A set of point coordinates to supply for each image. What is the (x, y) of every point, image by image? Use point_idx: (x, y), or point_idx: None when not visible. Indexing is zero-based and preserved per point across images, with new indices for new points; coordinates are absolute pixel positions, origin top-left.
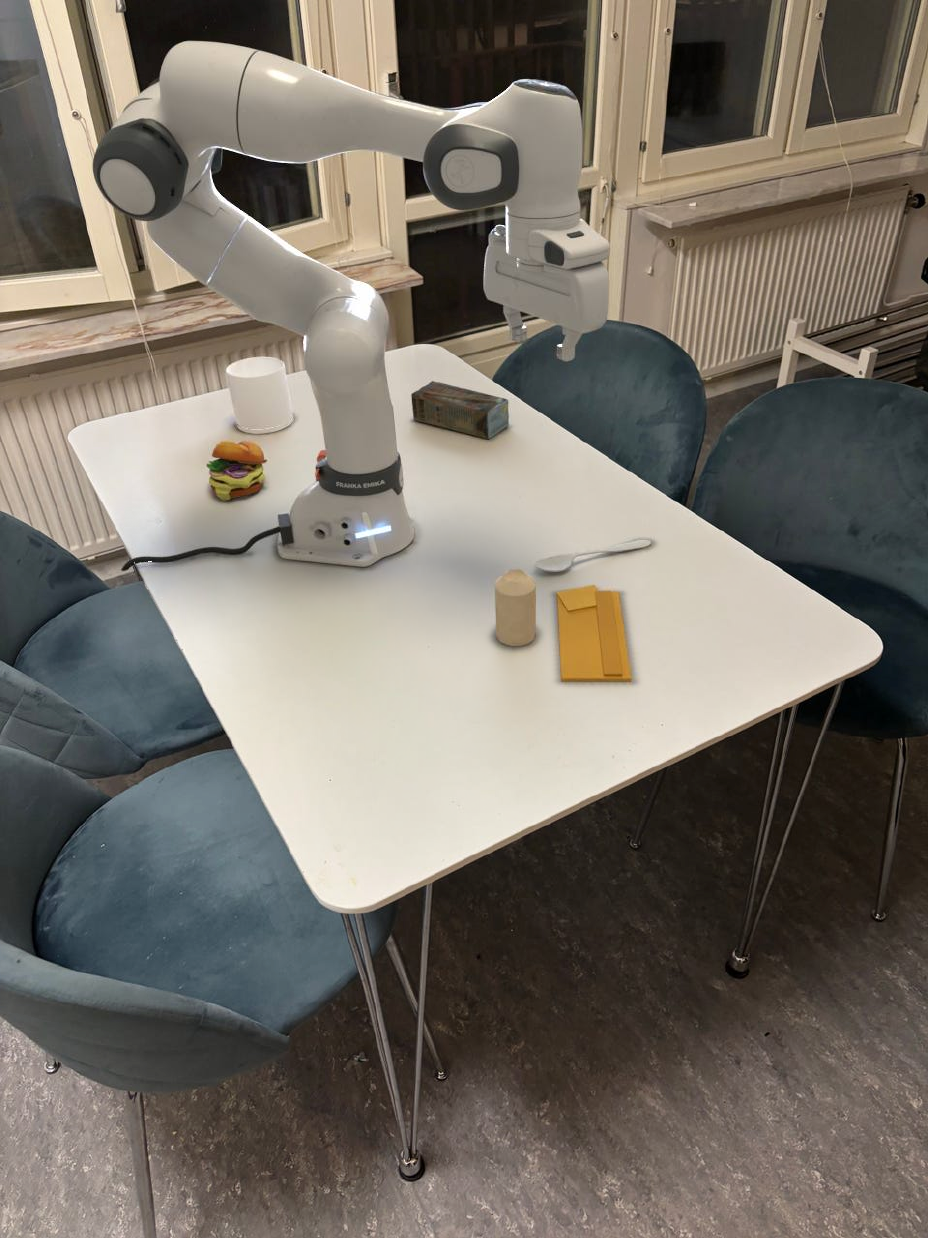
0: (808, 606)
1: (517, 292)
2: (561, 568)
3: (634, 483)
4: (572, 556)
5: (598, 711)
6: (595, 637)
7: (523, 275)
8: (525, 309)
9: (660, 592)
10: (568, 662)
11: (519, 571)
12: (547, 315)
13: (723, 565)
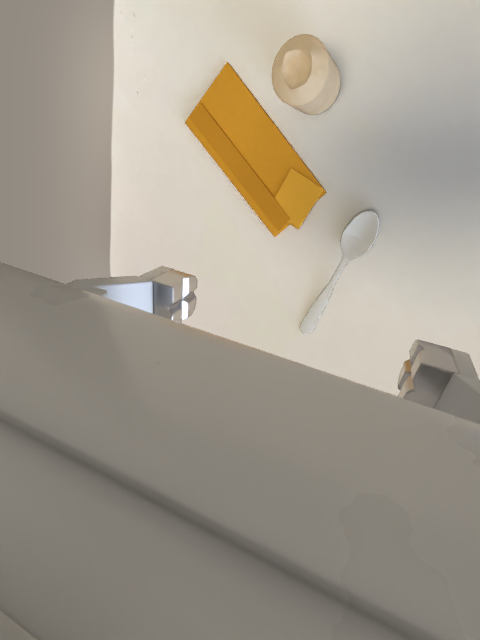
0: None
1: (370, 473)
2: (348, 234)
3: None
4: (345, 256)
5: (178, 57)
6: (244, 151)
7: (253, 628)
8: (291, 367)
9: (248, 263)
10: (237, 91)
11: (299, 85)
12: (111, 310)
13: (233, 330)
